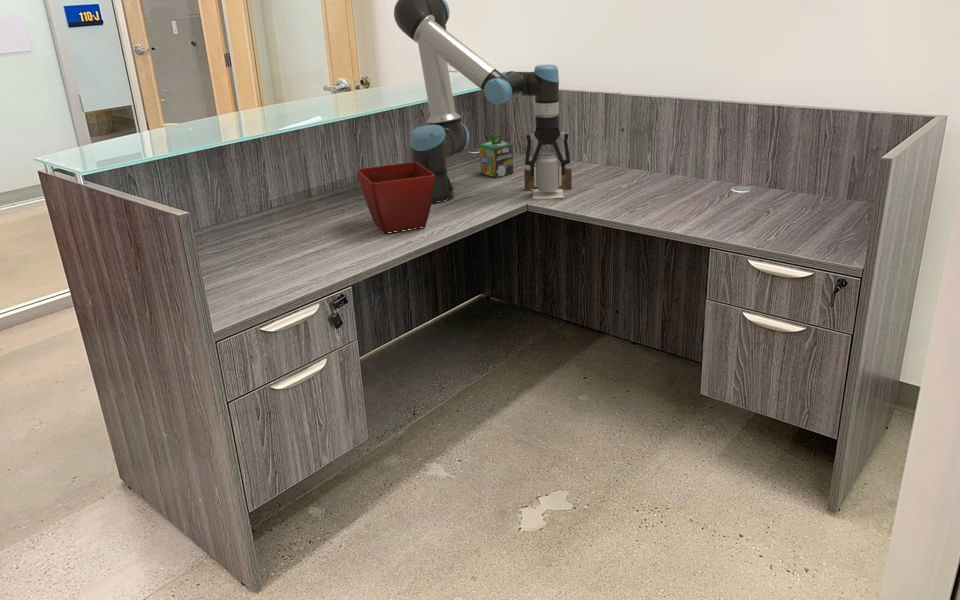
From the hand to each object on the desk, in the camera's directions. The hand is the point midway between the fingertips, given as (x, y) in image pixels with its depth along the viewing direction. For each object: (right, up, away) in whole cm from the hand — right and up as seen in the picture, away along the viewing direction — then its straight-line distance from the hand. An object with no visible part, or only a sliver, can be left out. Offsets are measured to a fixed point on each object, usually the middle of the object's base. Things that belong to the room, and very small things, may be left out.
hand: (547, 184), depth 253 cm
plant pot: (-47, -16, -22) cm, 54 cm away
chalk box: (-16, +8, +31) cm, 36 cm away
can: (0, -2, +1) cm, 2 cm away
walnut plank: (+1, 0, +9) cm, 9 cm away
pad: (0, -3, +1) cm, 4 cm away
